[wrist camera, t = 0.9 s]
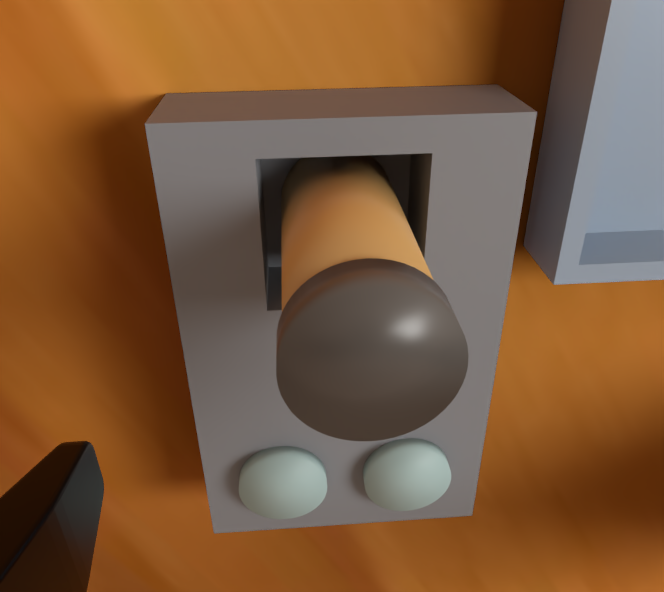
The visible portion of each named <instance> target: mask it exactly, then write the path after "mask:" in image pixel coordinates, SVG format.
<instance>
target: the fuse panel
mask: <svg viewBox="0 0 664 592" xmlns="http://www.w3.org/2000/svg"><path fill="white" fill-rule="evenodd" d="M536 116H537V111H535V110H534V109H532V108H531V107H529V106H528V105H527V104H525V103H524V102H522V101H521V100H519V99H518V98H516V97H515V96H514V95H512V94H511V93H509V92H508V91H506V90H505V89H503V88H502V87H501V86H499V85H498V84H495V85H458V86H422V87H385V88H349V89H313V90H276V91H240V92H203V93H167V94H165V96H164V97H163V99H162V100H161V101H160V103H159V104H158V106H157V107H156V108H155V110H154V111H153V113H152V114H151V115H150V117H149V118H148V120H147V121H146V122H145V129H146V135H147V141H148V147H149V153H150V159H151V165H152V170H153V176H154V182H155V188H156V194H157V200H158V206H159V212H160V218H161V224H162V229H163V235H164V241H165V247H166V253H167V259H168V265H169V271H170V277H171V283H172V289H173V294H174V300H175V306H176V312H177V318H178V324H179V330H180V336H181V342H182V348H183V353H184V359H185V365H186V371H187V377H188V383H189V389H190V395H191V401H192V407H193V412H194V418H195V424H196V430H197V436H198V442H199V448H200V454H201V460H202V466H203V471H204V477H205V483H206V489H207V495H208V501H209V507H210V513H211V519H212V525H213V531H214V533H227V532H242V531H257V530H271V529H286V528H300V527H315V526H329V525H344V524H358V523H373V522H388V521H402V520H417V519H431V518H446V517H460V516H472V513H473V507H474V501H475V495H476V489H477V482H478V476H479V470H480V464H481V458H482V451H483V445H484V439H485V433H486V427H487V420H488V414H489V408H490V402H491V395H492V389H493V383H494V377H495V371H496V364H497V358H498V352H499V346H500V340H501V333H502V327H503V321H504V315H505V309H506V302H507V296H508V290H509V284H510V277H511V271H512V265H513V259H514V253H515V246H516V240H517V234H518V228H519V222H520V215H521V209H522V203H523V197H524V191H525V184H526V178H527V172H528V166H529V159H530V153H531V147H532V141H533V135H534V128H535V122H536ZM364 155H371V156H372V157H373V158H374V159H375V160H377V162H378V163H379V164H380V165H381V166H382V168H383V169H384V171H385V172H386V174H387V176H388V178H389V181H390V183H391V185H392V188H393V190H394V192H395V194H396V197H397V199H398V201H399V203H400V206H401V208H402V210H403V212H404V215H405V217H406V219H407V221H408V224H409V226H410V228H411V230H412V233H413V235H414V237H415V239H416V242H417V244H418V246H419V248H420V251H421V253H422V255H423V257H424V260H425V262H426V264H427V266H428V269H429V271H430V273H431V275H432V278H433V280H434V281H435V282H436V283H437V284H438V285H439V287H440V288H441V289H442V290H443V292H444V293H445V295H446V296H447V298H448V301H449V303H450V305H451V307H452V309H453V311H454V313H455V316H456V318H457V320H458V322H459V324H460V326H461V329H462V331H463V333H464V335H465V339H466V342H467V346H468V355H469V356H468V368H467V372H466V376H465V379H464V382H463V384H462V386H461V388H460V390H459V392H458V394H457V395H456V397H455V398H454V399H453V401H452V402H451V403H450V404H449V405H448V406H447V408H446V409H445V410H444V411H443V412H441V413H440V414H439V415H438V416H437V417H436V418H434V419H433V420H431V421H430V422H428V423H427V424H425V425H424V426H422V427H420V428H418V429H416V430H414V431H411V432H409V433H407V434H404V435H401V436H398V437H394V438H390V439H385V440H378V441H349V440H343V439H338V438H334V437H331V436H327V435H325V434H322V433H320V432H318V431H316V430H314V429H312V428H310V427H309V426H307V425H306V424H304V423H303V422H302V421H300V420H299V419H298V418H297V417H296V416H295V415H294V414H293V413H292V412H291V411H290V409H289V408H288V406H287V405H286V404H285V402H284V400H283V398H282V396H281V394H280V391H279V388H278V384H277V377H276V343H277V327H278V322H279V319H280V316H281V313H282V259H281V194H282V188H283V185H284V181H285V179H286V177H287V175H288V173H289V172H290V170H291V169H292V167H293V166H294V165H295V164H296V163H297V162H298V161H299V160H300V159H301V158H305V157H335V156H364Z"/></svg>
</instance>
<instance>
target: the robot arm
mask: <svg viewBox="0 0 664 592" xmlns="http://www.w3.org/2000/svg"><path fill="white" fill-rule="evenodd" d="M103 494H104V483H103V478H102V474H101V471H100V467H99V464H98V461H97V457H96V454H95V451H94V448H93V446H92V444H91V443H90V442H87V441H78V442H65V443H61V444H60V445H58V446H57V447H56V448H55V449H53V450H52V451H51V452H50V453H49V454H48V455H47V456H46V457H45V458H44V459H42V460H41V461H40V462H39V463H38V464H37V465H36V466H35V467H34V468H32V469H31V470H30V471H29V472H28V473H27V474H26V475H25V476H24V477H23V478H21V479H20V480H19V481H18V482H17V483H16V484H15V485H14V486H13V487H12V488H10V489H9V490H8V491H7V492H6V493H5V494H4V495H3V496H2V497H1V498H0V592H87V587H88V582H89V576H90V570H91V565H92V559H93V553H94V547H95V541H96V536H97V530H98V524H99V518H100V512H101V507H102V501H103Z"/></svg>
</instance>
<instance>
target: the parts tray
mask: <svg viewBox="0 0 664 592" xmlns="http://www.w3.org/2000/svg"><path fill="white" fill-rule="evenodd" d="M523 246H524V247H525V248H526V250H527V251H528V252H529V254H530V255H531V256H532V257H533V259H534V260H535V261H536V263H537V264H538V265H539V266H540V268H541V269H542V270H543V272H544V273H545V274H546V275H547V277H548V278H549V279H550V281H551V282H552V283H553V284H554V285H557V284H578V283H599V282H620V281H642V280H663V279H664V0H565V2H564V8H563V14H562V20H561V25H560V31H559V37H558V43H557V49H556V55H555V61H554V67H553V73H552V79H551V85H550V91H549V97H548V103H547V109H546V115H545V120H544V126H543V132H542V138H541V144H540V150H539V156H538V162H537V168H536V174H535V180H534V186H533V192H532V198H531V204H530V210H529V216H528V221H527V227H526V233H525V239H524V245H523Z"/></svg>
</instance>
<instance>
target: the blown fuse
mask: <svg viewBox="0 0 664 592" xmlns="http://www.w3.org/2000/svg"><path fill="white" fill-rule="evenodd" d="M281 259H282V313H281V316H280V319H279V322H278V327H277V343H276V377H277V384H278V388H279V391H280V394H281V396H282V398H283V400H284V402H285V404H286V405H287V406H288V408H289V409H290V411H291V412H292V413H293V414H294V415H295V416H296V417H297V418H298V419H299V420H300V421H302V422H303V423H304V424H306V425H307V426H309V427H310V428H312V429H314V430H316V431H318V432H320V433H322V434H325V435H327V436H331V437H334V438H338V439H343V440H349V441H378V440H385V439H390V438H394V437H398V436H401V435H404V434H407V433H409V432H411V431H414V430H416V429H418V428H420V427H422V426H424V425H425V424H427V423H428V422H430V421H431V420H433V419H434V418H436V417H437V416H438V415H439V414H440V413H441V412H443V411H444V410H445V409H446V408H447V406H448V405H449V404H450V403H451V402H452V401H453V399H454V398H455V397H456V395H457V394H458V392H459V390H460V388H461V386H462V384H463V382H464V379H465V376H466V372H467V368H468V356H469V355H468V346H467V342H466V339H465V335H464V333H463V331H462V329H461V326H460V324H459V322H458V320H457V318H456V316H455V313H454V311H453V309H452V307H451V305H450V303H449V301H448V298H447V296H446V295H445V293H444V292H443V290H442V289H441V288H440V287H439V285H438V284H437V283H436V282H435V281H434V280H433V278H432V275H431V273H430V271H429V269H428V266H427V264H426V262H425V260H424V257H423V255H422V253H421V251H420V248H419V246H418V244H417V242H416V239H415V237H414V235H413V233H412V230H411V228H410V226H409V224H408V221H407V219H406V217H405V215H404V212H403V210H402V208H401V206H400V203H399V201H398V199H397V197H396V194H395V192H394V190H393V188H392V185H391V183H390V181H389V178H388V176H387V174H386V172H385V171H384V169H383V168H382V166H381V165H380V164H379V163H378V162H377V160H375V159H374V158H373V157H372V156H371V155H364V156H335V157H305V158H301V159H300V160H299V161H298V162H297V163H296V164H295V165H294V166H293V167H292V169H291V170H290V172H289V173H288V175H287V177H286V179H285V181H284V185H283V188H282V194H281Z"/></svg>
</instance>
